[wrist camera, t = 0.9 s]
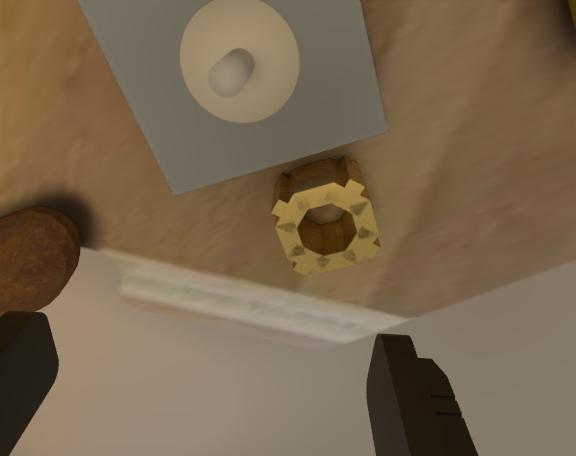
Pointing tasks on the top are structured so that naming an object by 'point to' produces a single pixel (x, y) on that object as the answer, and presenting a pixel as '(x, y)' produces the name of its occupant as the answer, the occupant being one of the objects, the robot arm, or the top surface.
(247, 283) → the top surface
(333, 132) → the pegboard
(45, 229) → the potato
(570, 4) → the flower pot
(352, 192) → the brass gear
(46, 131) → the top surface
